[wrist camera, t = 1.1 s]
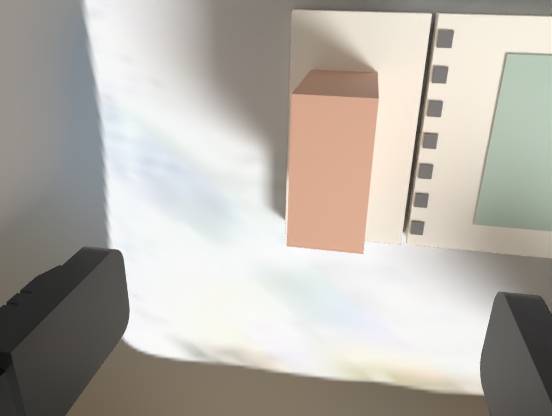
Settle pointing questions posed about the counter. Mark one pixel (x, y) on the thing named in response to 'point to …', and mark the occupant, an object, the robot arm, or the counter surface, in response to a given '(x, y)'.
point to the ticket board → (486, 137)
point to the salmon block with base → (352, 125)
